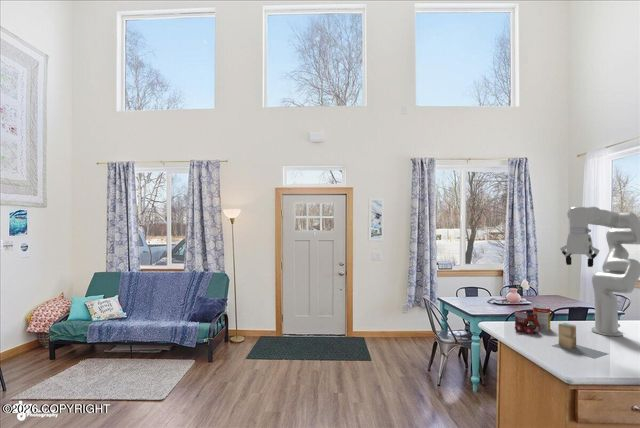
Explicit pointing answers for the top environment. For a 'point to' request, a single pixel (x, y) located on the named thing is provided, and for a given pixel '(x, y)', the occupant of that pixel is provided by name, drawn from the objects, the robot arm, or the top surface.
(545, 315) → the canned food
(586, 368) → the top surface
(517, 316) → the toy fire truck
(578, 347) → the mat
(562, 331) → the oak block
